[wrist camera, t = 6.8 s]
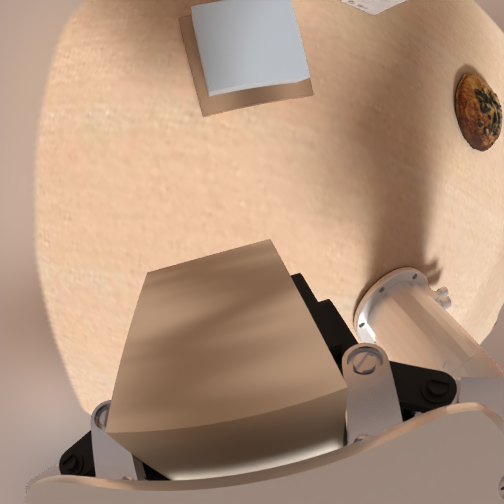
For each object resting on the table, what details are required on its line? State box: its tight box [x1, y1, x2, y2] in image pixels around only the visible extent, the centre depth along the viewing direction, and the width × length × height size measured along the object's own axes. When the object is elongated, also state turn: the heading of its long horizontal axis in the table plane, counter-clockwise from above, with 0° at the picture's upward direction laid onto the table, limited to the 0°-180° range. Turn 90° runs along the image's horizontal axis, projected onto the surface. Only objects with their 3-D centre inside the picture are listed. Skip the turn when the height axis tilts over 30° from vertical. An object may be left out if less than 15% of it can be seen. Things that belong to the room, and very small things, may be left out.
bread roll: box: [455, 72, 502, 152], centre depth 23 cm, size 11×11×5 cm
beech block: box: [105, 239, 348, 480], centre depth 9 cm, size 5×5×7 cm
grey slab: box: [191, 0, 310, 96], centre depth 16 cm, size 7×7×3 cm
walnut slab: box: [179, 15, 314, 117], centre depth 19 cm, size 9×9×3 cm
